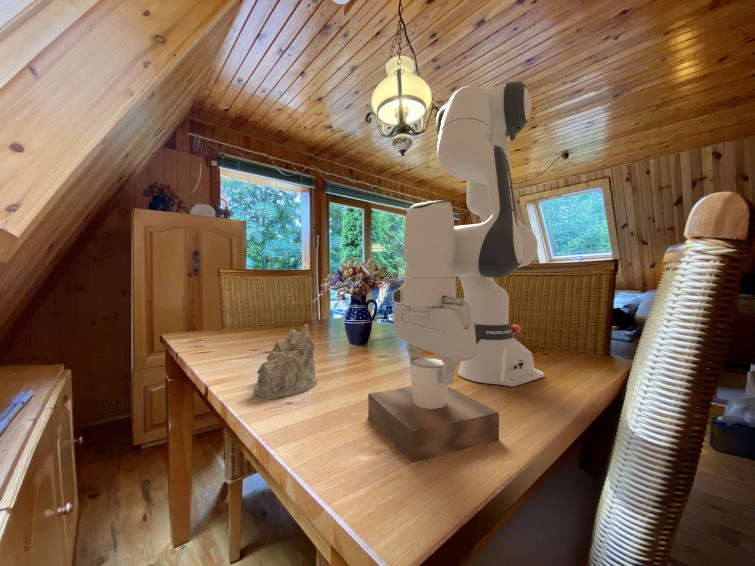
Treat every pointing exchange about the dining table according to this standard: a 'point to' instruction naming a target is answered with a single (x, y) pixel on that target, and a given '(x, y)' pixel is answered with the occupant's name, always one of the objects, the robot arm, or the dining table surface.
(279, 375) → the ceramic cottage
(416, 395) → the white cup
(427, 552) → the dining table surface
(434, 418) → the walnut block
